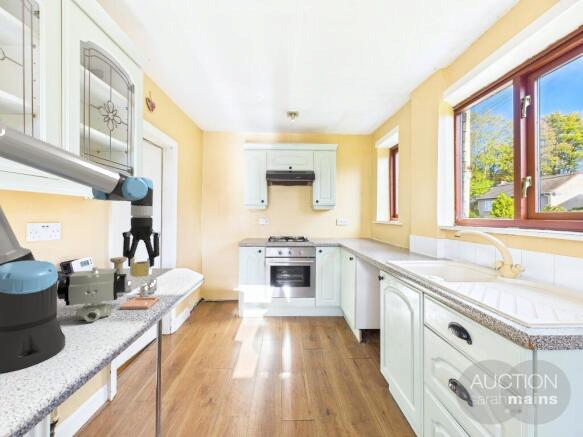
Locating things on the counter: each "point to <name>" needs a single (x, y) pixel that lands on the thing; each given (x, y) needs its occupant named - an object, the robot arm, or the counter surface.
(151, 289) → the spacers
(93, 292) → the ball valve
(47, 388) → the counter surface
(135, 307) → the dish
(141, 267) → the nut
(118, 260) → the handle
